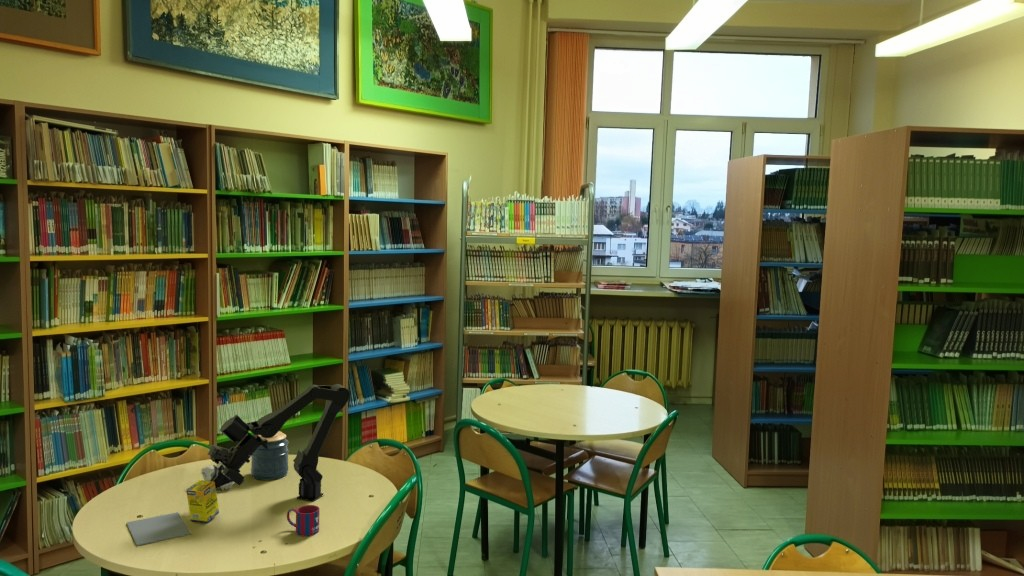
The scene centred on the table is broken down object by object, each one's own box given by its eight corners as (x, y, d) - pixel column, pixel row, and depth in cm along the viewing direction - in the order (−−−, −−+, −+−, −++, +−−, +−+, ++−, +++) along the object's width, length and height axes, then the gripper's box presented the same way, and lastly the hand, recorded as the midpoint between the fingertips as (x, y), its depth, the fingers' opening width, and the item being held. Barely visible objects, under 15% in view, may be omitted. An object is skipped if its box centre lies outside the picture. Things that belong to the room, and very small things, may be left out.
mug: (310, 538, 197) (310, 515, 196) (281, 532, 200) (281, 509, 200) (323, 529, 203) (324, 507, 203) (295, 523, 206) (296, 501, 206)
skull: (226, 486, 227) (204, 459, 229) (213, 502, 230) (192, 475, 232) (243, 477, 235) (222, 451, 237) (230, 492, 238) (209, 467, 240)
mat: (177, 513, 211) (177, 512, 211) (191, 534, 197) (191, 533, 197) (126, 523, 202) (126, 522, 202) (136, 546, 188) (136, 544, 188)
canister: (279, 466, 257) (279, 420, 256) (294, 475, 247) (295, 428, 246) (245, 473, 248) (245, 426, 247) (259, 483, 238) (259, 434, 237)
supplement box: (207, 524, 204) (203, 492, 201) (190, 521, 205) (185, 490, 202) (219, 512, 210) (215, 481, 207) (202, 510, 211) (198, 479, 208)
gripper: (217, 428, 218) (179, 467, 212) (233, 443, 204) (193, 485, 198) (242, 448, 224) (206, 487, 218) (259, 464, 209) (221, 506, 203)
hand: (206, 491), depth 209 cm, fingers closed
